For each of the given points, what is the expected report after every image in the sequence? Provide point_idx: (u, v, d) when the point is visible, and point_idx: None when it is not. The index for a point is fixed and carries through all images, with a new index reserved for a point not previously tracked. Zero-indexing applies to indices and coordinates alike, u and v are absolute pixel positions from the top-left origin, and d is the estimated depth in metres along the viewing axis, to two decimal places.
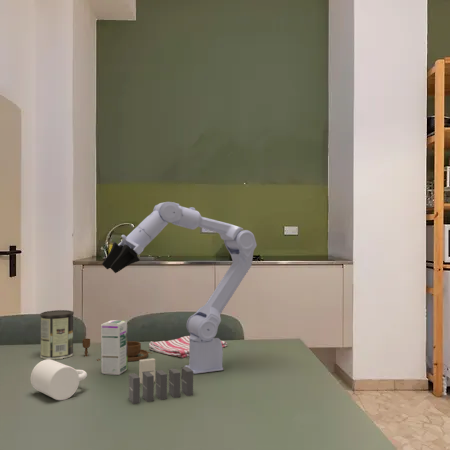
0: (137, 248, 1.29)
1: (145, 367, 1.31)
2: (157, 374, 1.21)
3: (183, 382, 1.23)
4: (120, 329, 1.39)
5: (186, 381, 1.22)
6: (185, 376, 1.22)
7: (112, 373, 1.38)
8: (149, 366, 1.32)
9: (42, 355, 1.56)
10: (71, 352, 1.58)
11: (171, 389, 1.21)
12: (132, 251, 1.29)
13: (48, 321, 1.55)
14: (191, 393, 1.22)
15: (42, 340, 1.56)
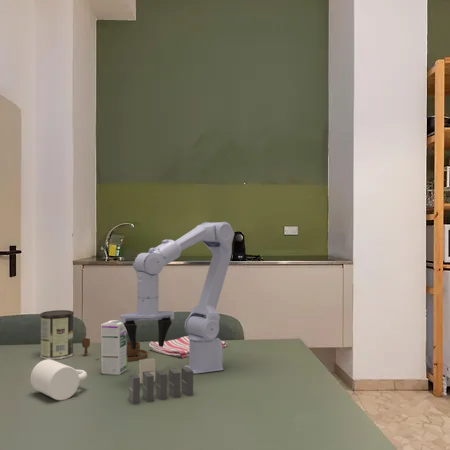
0: None
1: (145, 367, 1.31)
2: (157, 374, 1.21)
3: (183, 382, 1.23)
4: (120, 329, 1.39)
5: (186, 381, 1.22)
6: (185, 376, 1.22)
7: (112, 373, 1.38)
8: (149, 366, 1.32)
9: (42, 355, 1.56)
10: (71, 352, 1.58)
11: (171, 389, 1.21)
12: None
13: (48, 321, 1.55)
14: (191, 393, 1.22)
15: (42, 340, 1.56)
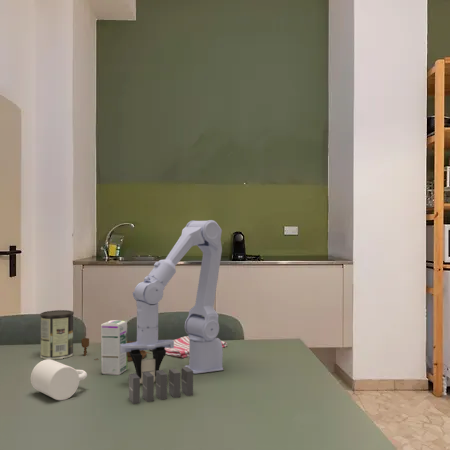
0: None
1: (145, 367, 1.31)
2: (157, 374, 1.21)
3: (183, 382, 1.23)
4: (120, 329, 1.39)
5: (186, 381, 1.22)
6: (185, 376, 1.22)
7: (112, 373, 1.38)
8: (149, 366, 1.32)
9: (42, 355, 1.56)
10: (71, 352, 1.58)
11: (171, 389, 1.21)
12: None
13: (48, 321, 1.55)
14: (191, 393, 1.22)
15: (42, 340, 1.56)
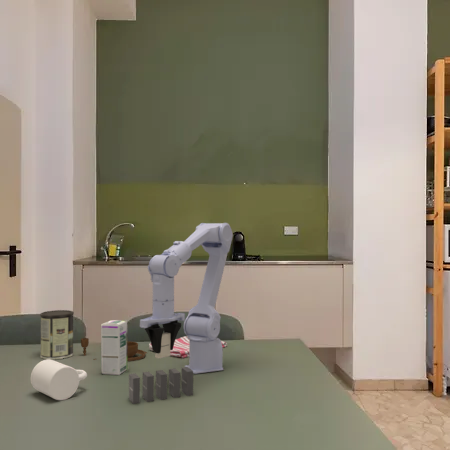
0: None
1: (163, 341, 1.29)
2: (157, 374, 1.21)
3: (183, 382, 1.23)
4: (120, 329, 1.39)
5: (186, 381, 1.22)
6: (185, 376, 1.22)
7: (112, 373, 1.38)
8: (166, 340, 1.30)
9: (42, 355, 1.56)
10: (71, 352, 1.58)
11: (171, 389, 1.21)
12: None
13: (48, 321, 1.55)
14: (191, 393, 1.22)
15: (42, 340, 1.56)
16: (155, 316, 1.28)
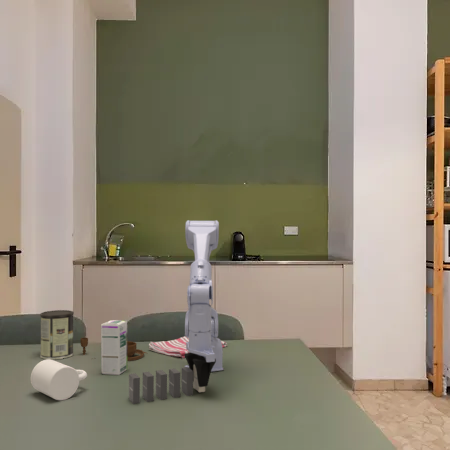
0: None
1: None
2: (157, 374, 1.21)
3: (183, 382, 1.23)
4: (120, 329, 1.39)
5: (186, 381, 1.22)
6: (185, 376, 1.22)
7: (112, 373, 1.38)
8: None
9: (42, 355, 1.56)
10: (71, 352, 1.58)
11: (171, 389, 1.21)
12: None
13: (48, 321, 1.55)
14: (191, 393, 1.22)
15: (42, 340, 1.56)
16: (204, 348, 1.22)
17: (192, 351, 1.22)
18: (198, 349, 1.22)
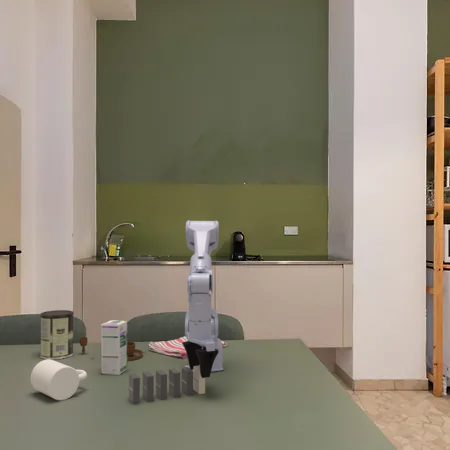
0: None
1: None
2: (157, 374, 1.21)
3: (183, 382, 1.23)
4: (120, 329, 1.39)
5: (186, 381, 1.22)
6: (185, 376, 1.22)
7: (112, 373, 1.38)
8: None
9: (42, 355, 1.56)
10: (71, 352, 1.58)
11: (171, 389, 1.21)
12: None
13: (48, 321, 1.55)
14: (191, 393, 1.22)
15: (42, 340, 1.56)
16: (204, 337, 1.22)
17: (192, 340, 1.22)
18: (198, 338, 1.22)
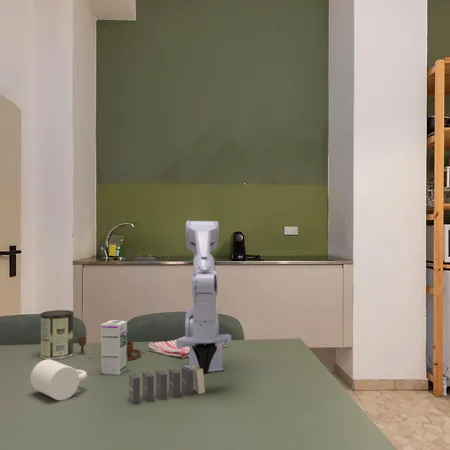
0: None
1: None
2: (157, 374, 1.21)
3: (183, 382, 1.23)
4: (120, 329, 1.39)
5: (186, 381, 1.22)
6: (185, 376, 1.22)
7: (112, 373, 1.38)
8: None
9: (42, 355, 1.56)
10: (71, 352, 1.58)
11: (171, 389, 1.21)
12: None
13: (48, 321, 1.55)
14: (191, 393, 1.22)
15: (42, 340, 1.56)
16: (194, 336, 1.24)
17: None
18: (193, 336, 1.26)
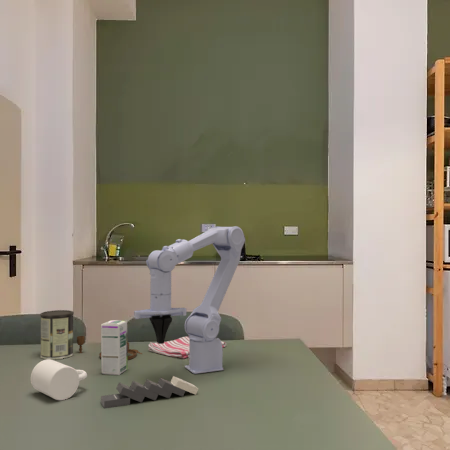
0: None
1: (182, 381, 1.22)
2: None
3: None
4: (120, 329, 1.39)
5: (170, 391, 1.20)
6: None
7: (112, 373, 1.38)
8: (180, 380, 1.23)
9: (42, 355, 1.56)
10: (71, 352, 1.58)
11: None
12: None
13: (48, 321, 1.55)
14: (183, 391, 1.21)
15: (42, 340, 1.56)
16: (150, 308, 1.34)
17: None
18: None
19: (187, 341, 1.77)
